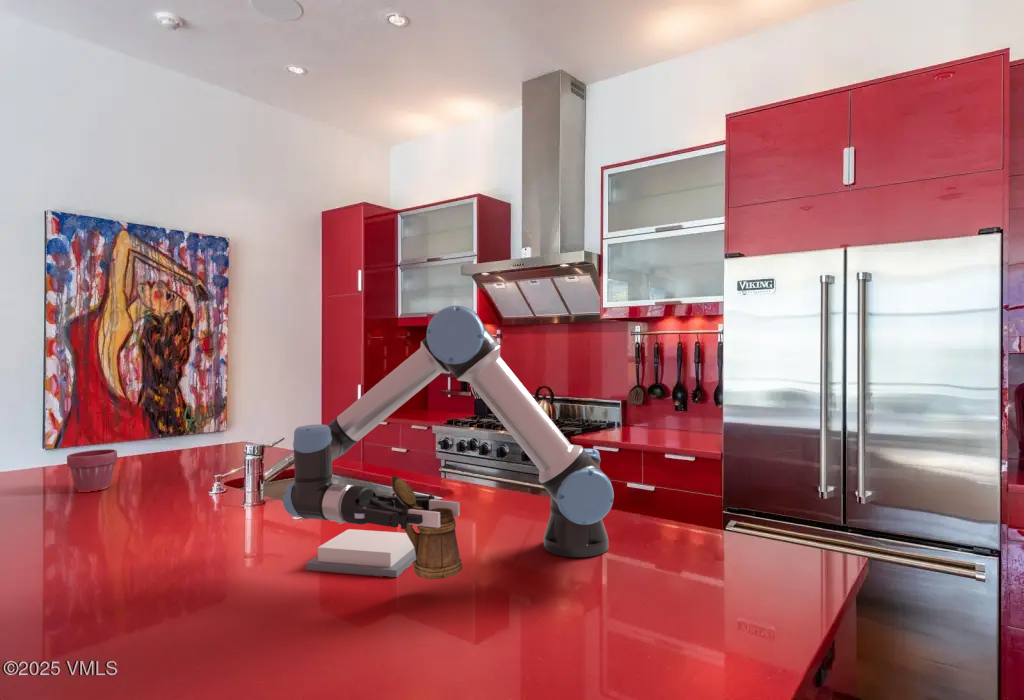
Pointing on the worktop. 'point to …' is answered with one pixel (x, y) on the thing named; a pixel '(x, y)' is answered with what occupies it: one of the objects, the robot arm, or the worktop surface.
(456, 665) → the worktop surface
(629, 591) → the worktop surface
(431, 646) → the worktop surface
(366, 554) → the plate
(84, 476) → the plant pot
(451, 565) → the wooden mug
